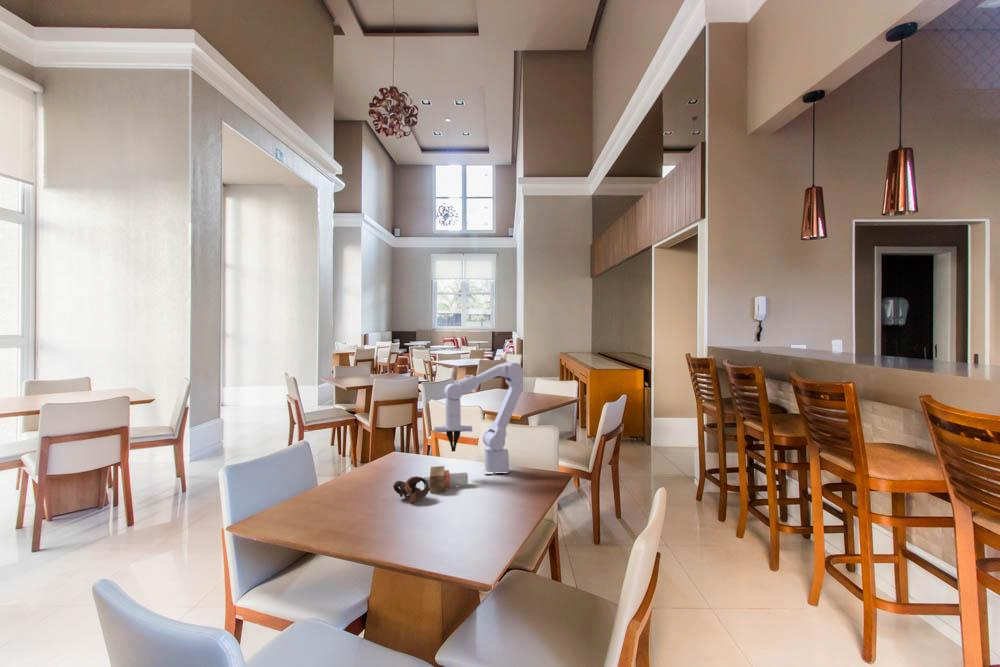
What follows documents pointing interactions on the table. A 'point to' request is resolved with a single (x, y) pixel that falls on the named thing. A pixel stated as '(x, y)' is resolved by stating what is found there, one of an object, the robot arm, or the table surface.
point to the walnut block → (437, 479)
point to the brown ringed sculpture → (411, 488)
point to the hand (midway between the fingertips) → (453, 450)
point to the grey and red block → (452, 479)
